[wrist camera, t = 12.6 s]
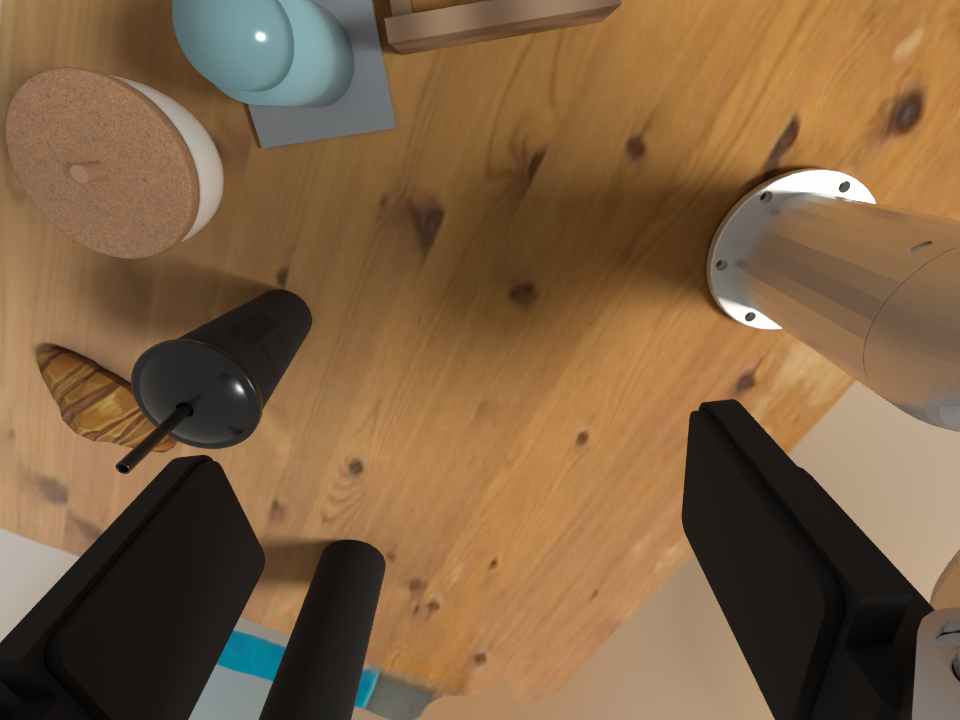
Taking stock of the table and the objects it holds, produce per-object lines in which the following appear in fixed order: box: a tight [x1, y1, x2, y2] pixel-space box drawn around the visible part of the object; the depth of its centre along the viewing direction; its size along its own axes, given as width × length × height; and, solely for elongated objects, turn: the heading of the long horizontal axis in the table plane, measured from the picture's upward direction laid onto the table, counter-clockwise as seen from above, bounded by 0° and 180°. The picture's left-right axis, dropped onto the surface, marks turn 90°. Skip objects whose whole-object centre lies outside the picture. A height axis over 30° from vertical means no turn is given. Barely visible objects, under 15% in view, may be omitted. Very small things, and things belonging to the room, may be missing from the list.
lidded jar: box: [6, 67, 224, 259], centre depth 31 cm, size 11×11×9 cm
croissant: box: [37, 346, 177, 452], centre depth 42 cm, size 14×7×5 cm, turn 39°
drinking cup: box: [116, 290, 312, 474], centre depth 31 cm, size 8×8×20 cm
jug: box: [172, 0, 354, 108], centre depth 25 cm, size 6×9×11 cm, turn 9°
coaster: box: [248, 0, 398, 149], centre depth 31 cm, size 10×10×1 cm
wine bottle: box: [259, 540, 386, 720], centre depth 41 cm, size 8×8×30 cm
